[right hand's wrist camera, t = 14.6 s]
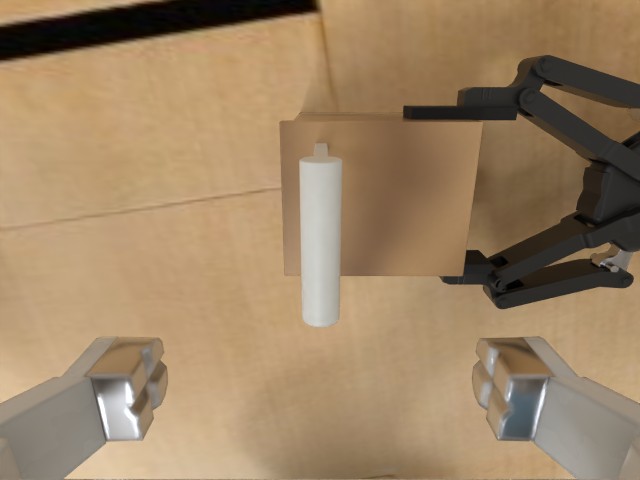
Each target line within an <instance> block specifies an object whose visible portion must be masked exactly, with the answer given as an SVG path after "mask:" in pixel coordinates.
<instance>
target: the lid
mask: <svg viewBox="0 0 640 480" xmlns="http://www.w3.org/2000/svg"><path fill="white" fill-rule="evenodd" d="M482 130H483V122H481V121H280V150H281V181H282V211H283V242H284V273H285V276H301V284H302V319H303V321H304V322H305V323H306V324H308V325H310V326H314V327H327V326H331V325H333V324H335V323H336V322H337V321H338V320H339V304H340V276H463V271H464V263H465V256H466V248H467V241H468V234H469V226H470V219H471V212H472V204H473V197H474V189H475V182H476V175H477V167H478V160H479V153H480V145H481V138H482Z"/></svg>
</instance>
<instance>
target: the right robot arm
mask: <svg viewBox="0 0 640 480" xmlns="http://www.w3.org/2000/svg"><path fill="white" fill-rule="evenodd" d="M476 353H477V355H478V357H479V359H480V360H479V361H478V363H477V364H476V365H475V366H474V367H473V374H472V383H473V390H474V394H475V397H476V399H477V401H478V403H479V405H480V406H482V407H483V408H485V409H486V410H487V417H486V419H487V421H488V423H489V425H490V427H491V429H492V431H493V433H494V435H495V437H496V438H497V440H502V441H534V443H535V444H536V445H537V446H538V447H539V448H541V449H542V450H543V451H544V452H545V453H547V454H548V455H549V456H550V457H551V458H553V459H554V460H555V461H556V462H557V463H559V464H560V465H561V466H562V467H563V468H565V469H566V470H567V471H568V472H569V473H571V474H572V475H573V476H574V477H575V478H577V479H63V478H65V477H66V476H67V475H68V474H69V473H71V472H72V471H73V470H74V469H76V468H77V467H78V466H79V465H80V464H82V463H83V462H84V461H85V460H86V459H88V458H89V457H90V456H91V455H92V454H94V453H95V452H96V451H97V450H98V449H100V448H101V447H102V446H103V445H104V444H106V441H137V440H143V439H144V437H145V435H146V433H147V431H148V429H149V427H150V425H151V423H152V421H153V419H154V417H153V410H154V409H155V408H157V407H158V406H160V405H161V403H162V401H163V399H164V397H165V394H166V389H167V385H168V373H167V367H166V366H165V365H164V364H163V362H162V361H161V360H160V359H161V357H162V355H163V354H164V348H163V343H162V340H161V339H159V338H149V337H100V338H96V339H95V341H94V342H93V343H92V344H91V345H90V346H89V347H88V348H87V349H86V350H85V351H84V353H83V354H82V355H81V356H80V357H79V358H78V359H77V360H76V361H75V362H74V363H73V365H72V366H71V367H70V368H69V369H68V370H67V371H66V372H65V373H64V374H63V375H62V377H54V378H52V379H50V380H48V381H46V382H44V383H41V384H39V385H37V386H35V387H33V388H31V389H29V390H27V391H25V392H23V393H21V394H19V395H17V396H15V397H13V398H11V399H9V400H7V401H5V402H3V403H1V404H0V480H640V404H639V403H637V402H635V401H633V400H631V399H629V398H627V397H625V396H623V395H621V394H619V393H617V392H615V391H613V390H611V389H609V388H607V387H605V386H603V385H601V384H598V383H596V382H594V381H592V380H590V379H588V378H586V377H578V375H577V374H576V373H575V372H574V371H573V370H572V369H571V368H570V367H569V366H568V365H567V363H566V362H565V361H564V360H563V359H562V358H561V357H560V356H559V355H558V354H557V353H556V351H555V350H554V349H553V348H552V347H551V346H550V345H549V344H548V343H547V342H546V340H545V339H543V338H541V337H519V338H480V339H479V341H478V343H477V347H476Z"/></svg>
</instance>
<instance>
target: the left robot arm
mask: <svg viewBox="0 0 640 480" xmlns="http://www.w3.org/2000/svg"><path fill="white" fill-rule="evenodd" d="M517 70H518V74H517V76H516V78H515V80H514V81H513V83H512V84H510V85H509V86H507V87H469V88H464V89H462V90H459V91H458V99H457V106H404V109H403V117H405V118H408V119H411V120H516V117H517V113H518V114H520V115H521V116H523V117H524V118H526V119H527V120H529V121H531V122H532V123H534V124H535V125H537V126H538V127H540V128H541V129H543V130H544V131H546V132H547V133H549V134H550V135H552V136H554V137H555V138H557V139H558V140H560V141H561V142H563V143H564V144H566V145H567V146H569V147H570V148H572V149H573V150H575V151H576V153H577V154H578V155H580V156H581V157H583V158H585V159H586V160H588V161H589V162H591V163H592V164H591V165H590V167H586V168H585V172H584V176H583V187H584V189H583V191H582V193H581V195H580V197H579V199H578V203H577V207H576V210H578V211H577V212H574V213H572V214H570V215H568V216H566V217H564V218H563V219H561V222H560V223H559V224H557V225H555V226H553V227H551V228H549V229H547V230H545V231H543V232H541V233H539V234H537V235H535V236H532V237H530V238H528V239H526V240H524V241H522V242H520V243H518V244H516V245H514V246H512V247H510V248H507V249H505V250H503V251H501V252H499V253H497V254H495V255H493V256H491V257H489V258H486V257H485V256H484V255H483V254H482V253H481V252H480V251H479V250H466V256H465V263H464V271H463V276H439V277H440V278H441V280H442V281H443V282H444V283H447V284H481V285H484V286H483V290H484V292H485V293H486V295H487V296H488V297H489V298H490V299H491V301H492V302H493V303H494V304H495V306H496V307H497V308H499V309H507V308H511V307H515V306H519V305H524V304H528V303H532V302H536V301H541V300H545V299H549V298H553V297H558V296H562V295H566V294H570V293H575V292H579V291H583V290H588V289H592V288H596V287H612V288H626V287H629V286H630V285H631V284H632V283H633V280H634V278H633V276H632V275H631V274H630V273H628V272H627V271H626V269H627V267H628V264H629V261H630V259H631V256H632V253H633V252H636V251H639V250H640V131H639V132H637V133H636V134H634V135H633V136H631V137H629V138H628V139H626V140H625V141H623V142H621V143H619V142H616V141H613V140H611V139H610V138H608V137H607V136H605V135H604V134H602V133H601V132H599V131H598V130H596V129H595V128H593V127H592V126H590V125H589V124H587V123H586V122H584V121H583V120H581V119H580V118H578V117H577V116H575V115H574V114H572V113H571V112H569V111H568V110H566V109H565V108H563V107H562V106H560V105H559V104H558V103H556V102H555V101H553V100H552V99H550V98H549V97H547V96H546V95H544V94H543V93H541V92H540V89H541V87H542V85H543V84H544V85H547V86H550V87H553V88H556V89H559V90H562V91H566V92H569V93H572V94H575V95H578V96H581V97H584V98H588V99H591V100H594V101H597V102H600V103H603V104H606V105H610V106H614V107H620V108H628V111H627V113H628V114H629V115H631V118H632V119H634V120H637V121H640V85H639V84H636V83H633V82H630V81H627V80H624V79H621V78H618V77H615V76H612V75H609V74H606V73H603V72H599V71H596V70H593V69H590V68H587V67H584V66H581V65H578V64H575V63H572V62H569V61H566V60H563V59H560V58H557V57H554V56H550V55H545V56H539V57H532V58H527V59H524V60H522V61H521V62H520V64H519V65H518V69H517ZM607 242H609V243H610V244H611V245H612V246H611V248H610V249H609V250H608V251H607V252H605V253H600V254H596V253H594V254H592V255H591V256H590V259H578V260H573V261H569V262H564V263H560V264H556V265H552V266H548V267H545V266H547V265H549V264H551V263H554V262H556V261H558V260H560V259H562V258H564V257H566V256H569V255H571V254H573V253H575V252H577V251H579V250H582V249H584V248H595V247H598V246H600V245H603V244H605V243H607ZM543 267H544V268H543Z"/></svg>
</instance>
